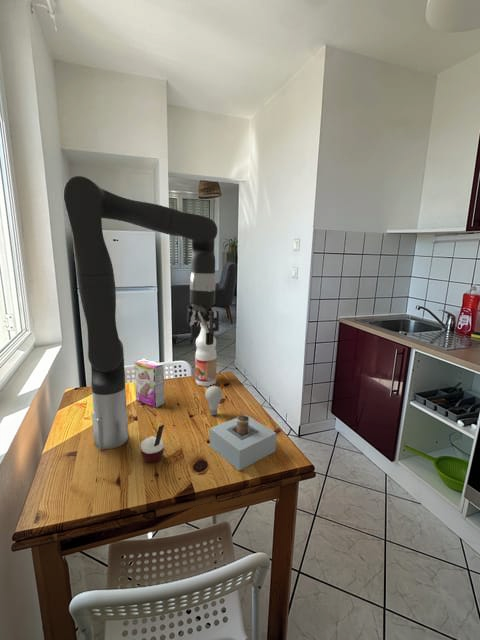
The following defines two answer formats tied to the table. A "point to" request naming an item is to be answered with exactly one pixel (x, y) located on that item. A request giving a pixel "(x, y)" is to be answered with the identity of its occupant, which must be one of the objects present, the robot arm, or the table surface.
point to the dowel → (242, 425)
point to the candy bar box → (149, 382)
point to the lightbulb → (213, 398)
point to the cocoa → (153, 447)
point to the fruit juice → (205, 360)
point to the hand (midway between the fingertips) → (201, 341)
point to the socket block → (242, 442)
